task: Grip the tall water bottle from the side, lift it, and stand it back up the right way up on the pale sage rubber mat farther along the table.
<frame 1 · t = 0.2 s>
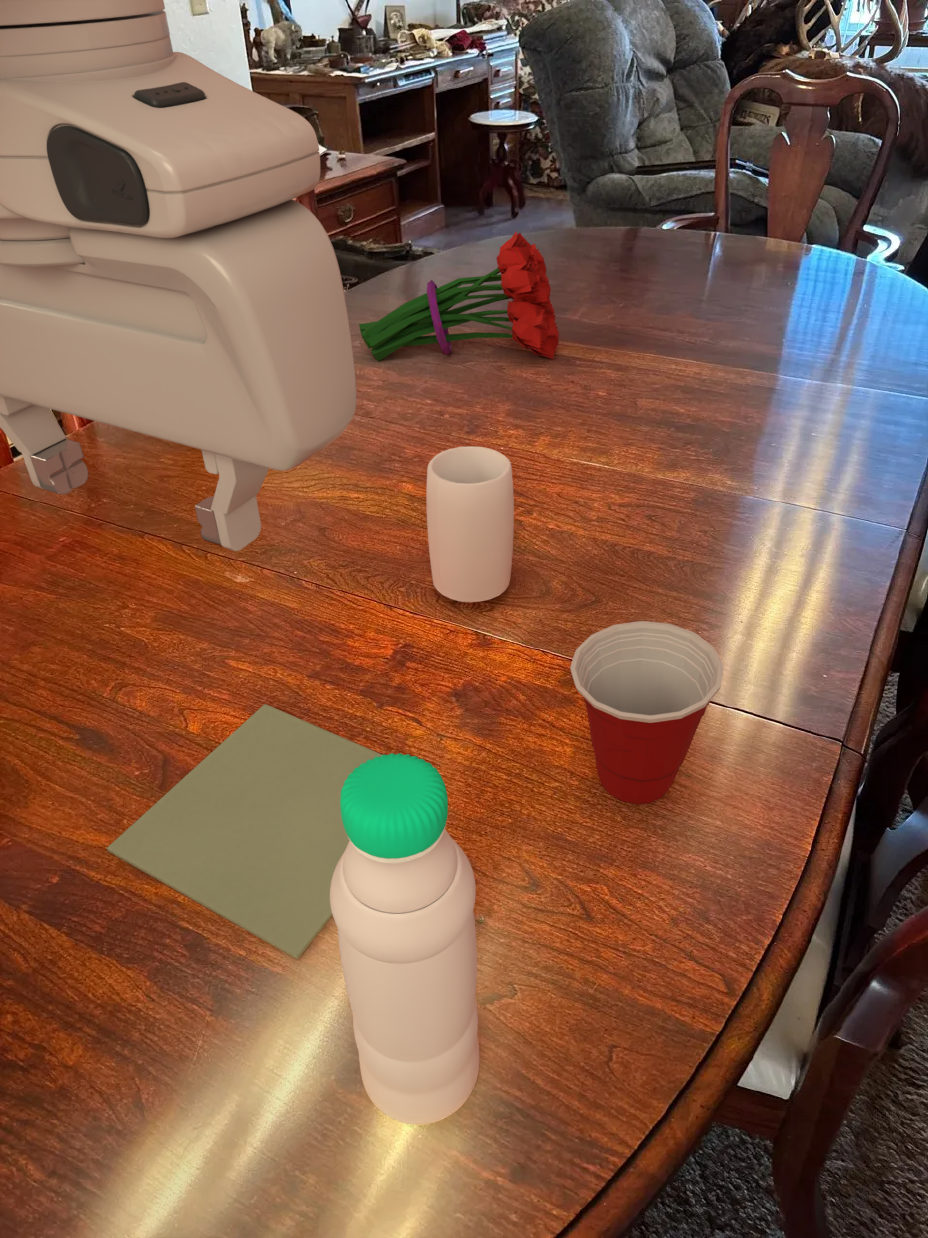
hand: (144, 511, 37), 36 cm above the table, tool pointing down, fingers open, 8 cm apart
mat: (279, 816, 71), on the table
plastic cup: (631, 779, 73), on the table
bouquet: (459, 356, 144), on the table
water bottle: (421, 1070, 55), on the table
cup: (471, 590, 94), on the table
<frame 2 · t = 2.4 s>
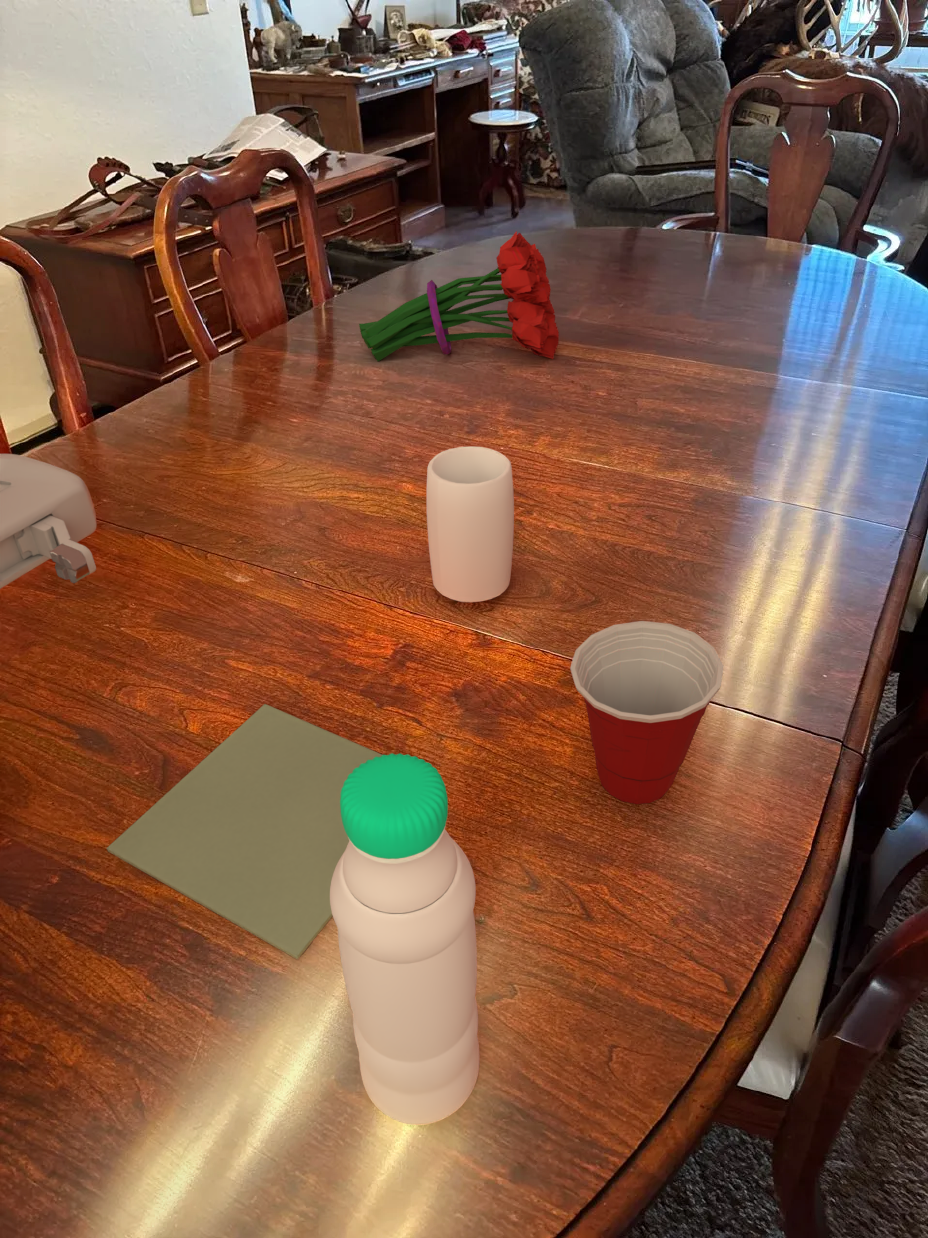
hand: (15, 610, 50), 25 cm above the table, tool horizontal, fingers open, 8 cm apart
nothing on the table moved.
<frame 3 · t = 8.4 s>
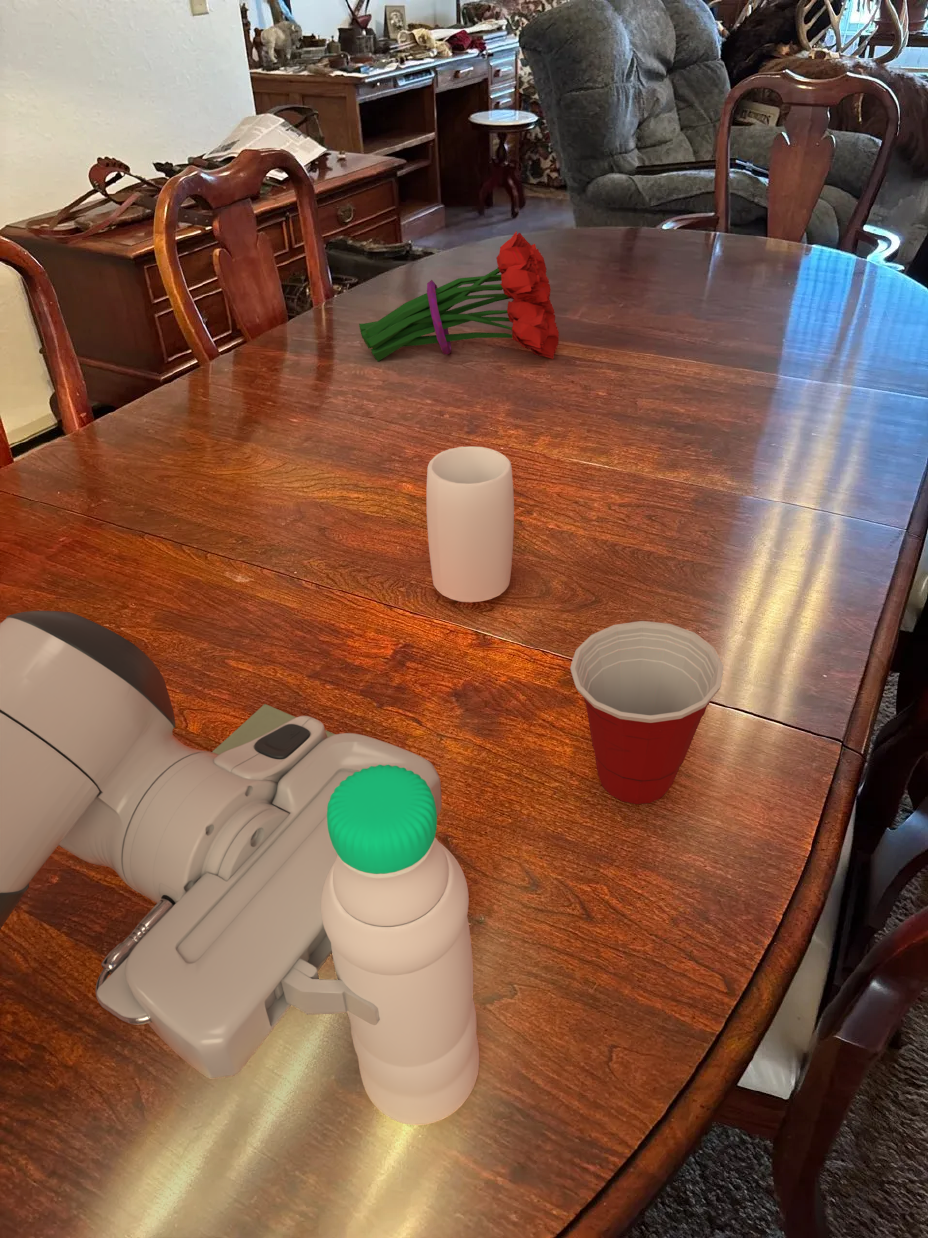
hand: (423, 949, 47), 13 cm above the table, tool horizontal, fingers closed on water bottle, 5 cm apart
water bottle: (421, 1069, 55), on the table, touching gripper
everything else where it was.
when the fingers open (13 cm above the table, at t = 14.4 s): water bottle stays where it is, resting on mat.
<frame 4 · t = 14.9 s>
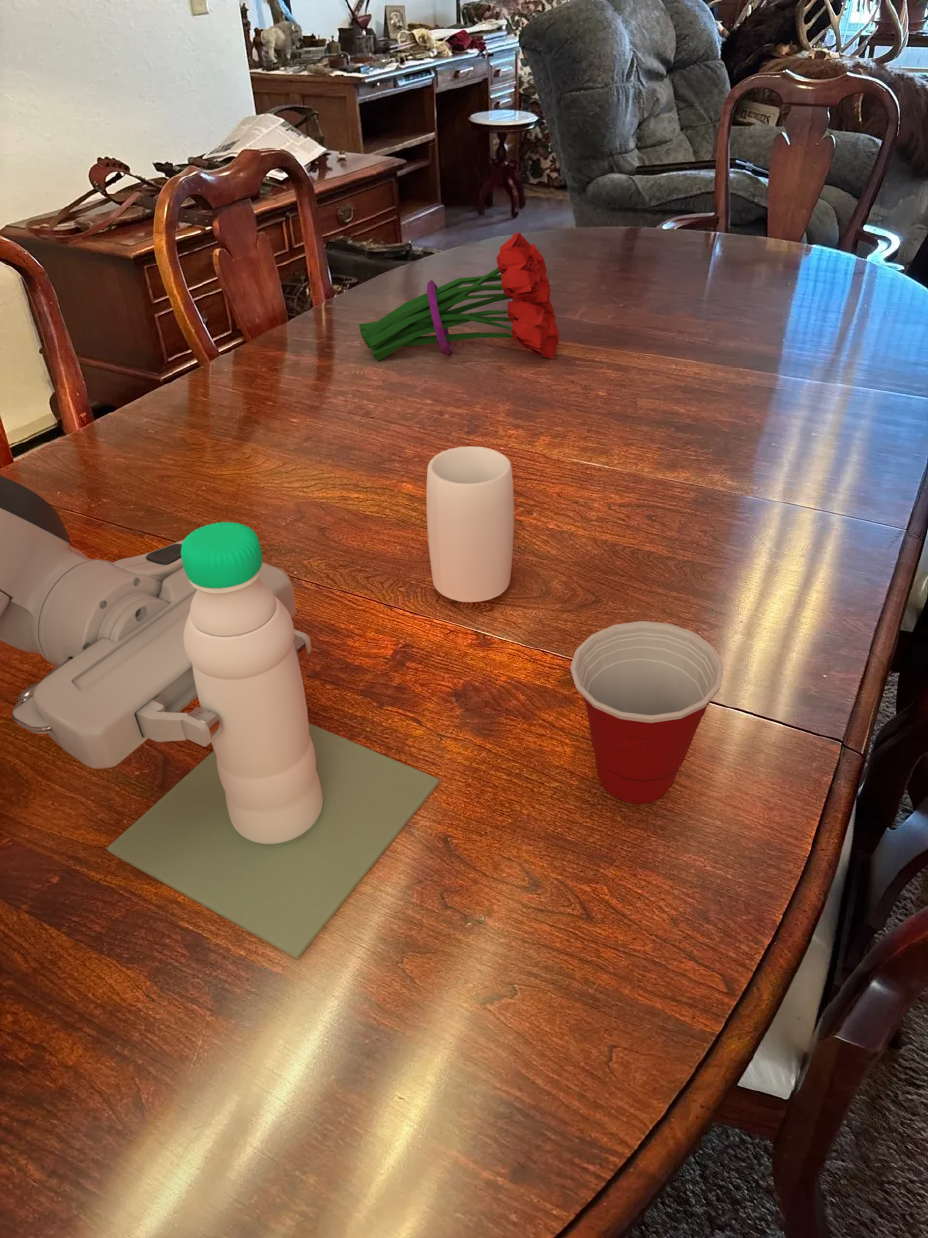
hand: (261, 689, 62), 14 cm above the table, tool horizontal, fingers open, 8 cm apart
water bottle: (278, 813, 71), resting on mat
everything else where it was.
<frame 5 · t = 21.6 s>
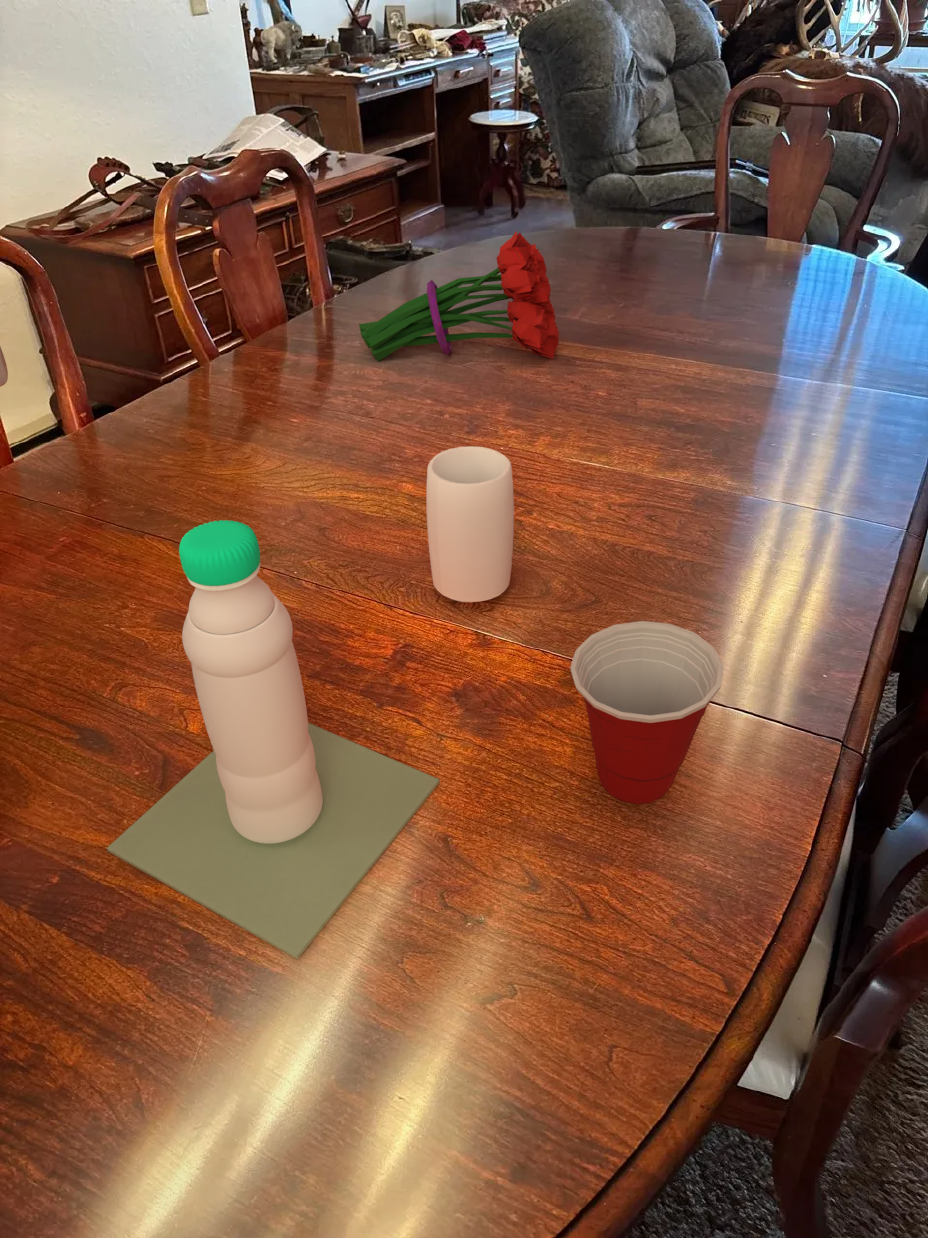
nothing on the table moved.
at the end: water bottle inside the target area on the mat (0.1 cm from its centre), point 0.2 cm above the mat's base; water bottle tilted 0°; the gripper is holding nothing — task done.
